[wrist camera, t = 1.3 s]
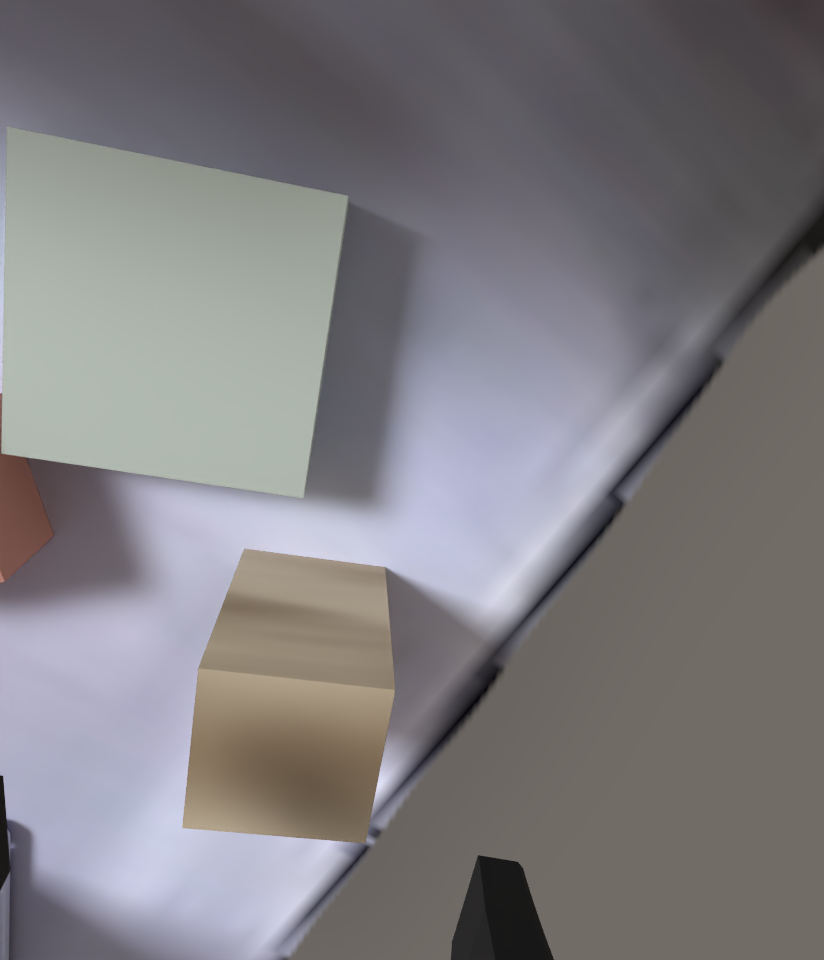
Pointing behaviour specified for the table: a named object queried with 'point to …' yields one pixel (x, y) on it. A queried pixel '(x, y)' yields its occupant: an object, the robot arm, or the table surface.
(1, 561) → the block
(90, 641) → the table surface
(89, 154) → the base block
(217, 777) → the beech block
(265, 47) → the table surface
